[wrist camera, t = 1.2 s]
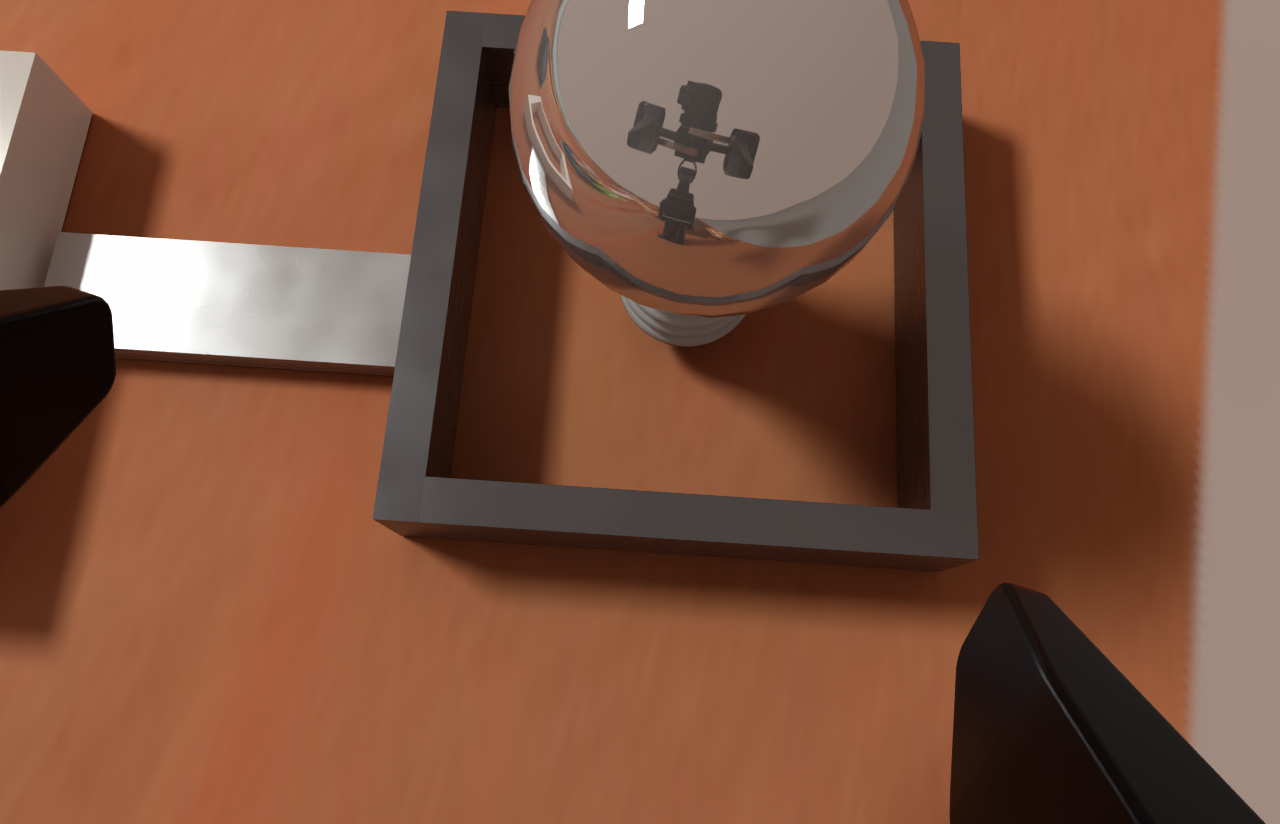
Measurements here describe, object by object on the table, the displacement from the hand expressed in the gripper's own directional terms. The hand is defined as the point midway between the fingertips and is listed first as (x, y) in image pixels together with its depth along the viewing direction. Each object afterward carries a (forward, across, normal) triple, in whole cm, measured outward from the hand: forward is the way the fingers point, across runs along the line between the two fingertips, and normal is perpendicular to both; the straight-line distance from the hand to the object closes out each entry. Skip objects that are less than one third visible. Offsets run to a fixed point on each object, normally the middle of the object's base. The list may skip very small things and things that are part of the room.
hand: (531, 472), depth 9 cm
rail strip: (+12, +11, +7) cm, 18 cm away
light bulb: (+15, 0, +4) cm, 16 cm away
